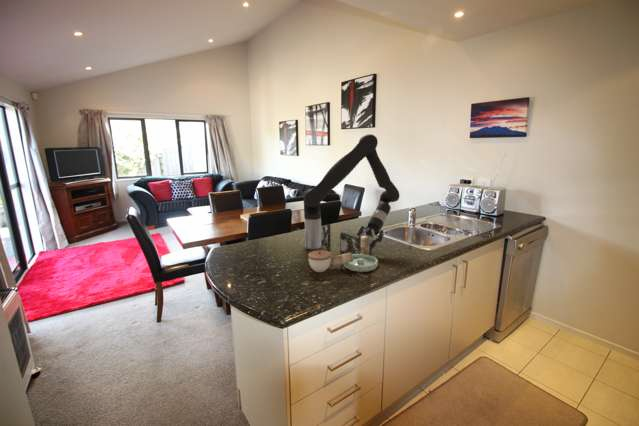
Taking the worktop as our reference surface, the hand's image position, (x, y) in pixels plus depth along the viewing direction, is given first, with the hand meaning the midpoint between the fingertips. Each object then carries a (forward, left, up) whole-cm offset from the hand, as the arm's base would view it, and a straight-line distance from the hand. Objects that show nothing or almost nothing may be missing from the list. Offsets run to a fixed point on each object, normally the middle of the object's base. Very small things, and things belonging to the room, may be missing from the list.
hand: (364, 245), depth 158 cm
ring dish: (-5, -12, -5) cm, 14 cm away
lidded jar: (-25, -15, -6) cm, 29 cm away
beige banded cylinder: (-9, -14, 0) cm, 17 cm away
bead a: (0, 0, -5) cm, 5 cm away
